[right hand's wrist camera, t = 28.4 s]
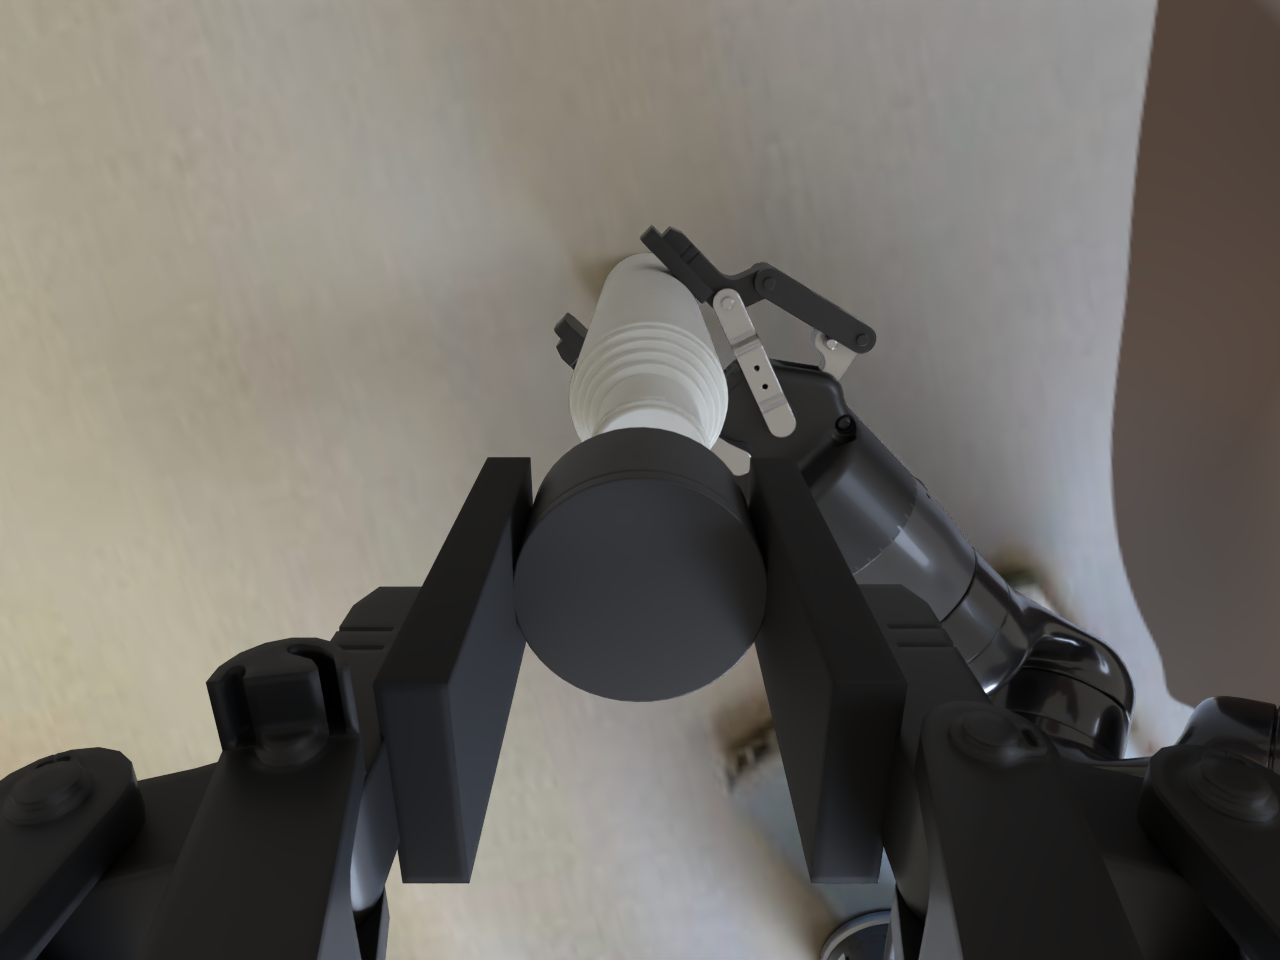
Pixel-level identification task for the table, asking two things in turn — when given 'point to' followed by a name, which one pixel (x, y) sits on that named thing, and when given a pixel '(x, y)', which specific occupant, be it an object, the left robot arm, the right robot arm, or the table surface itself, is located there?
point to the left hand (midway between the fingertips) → (603, 279)
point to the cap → (640, 567)
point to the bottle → (648, 359)
